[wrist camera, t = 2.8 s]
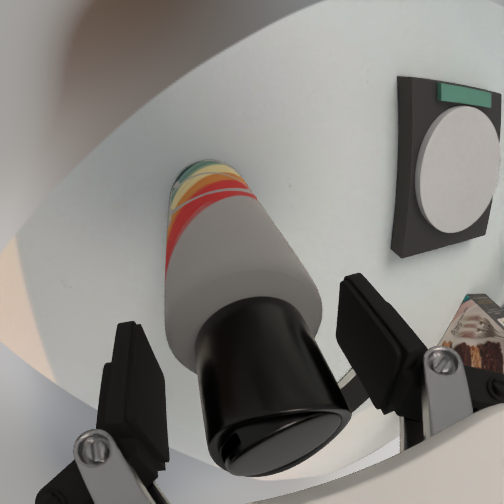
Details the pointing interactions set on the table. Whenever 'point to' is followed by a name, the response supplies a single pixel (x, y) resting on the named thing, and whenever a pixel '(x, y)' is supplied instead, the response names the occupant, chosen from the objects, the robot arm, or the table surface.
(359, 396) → the smartphone
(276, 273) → the lotion bottle
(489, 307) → the cake mix box
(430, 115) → the scale
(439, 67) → the table surface
